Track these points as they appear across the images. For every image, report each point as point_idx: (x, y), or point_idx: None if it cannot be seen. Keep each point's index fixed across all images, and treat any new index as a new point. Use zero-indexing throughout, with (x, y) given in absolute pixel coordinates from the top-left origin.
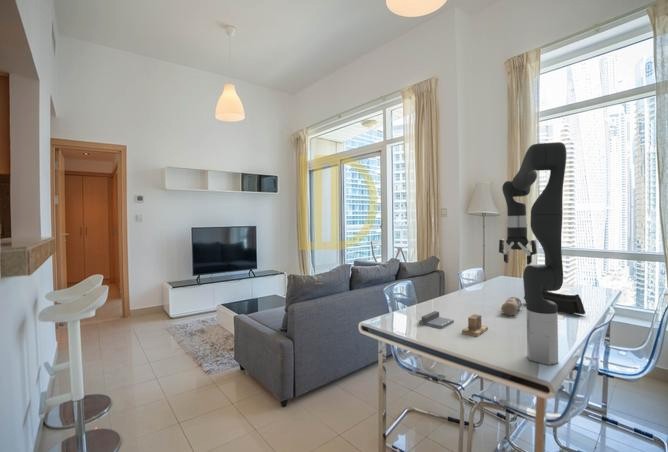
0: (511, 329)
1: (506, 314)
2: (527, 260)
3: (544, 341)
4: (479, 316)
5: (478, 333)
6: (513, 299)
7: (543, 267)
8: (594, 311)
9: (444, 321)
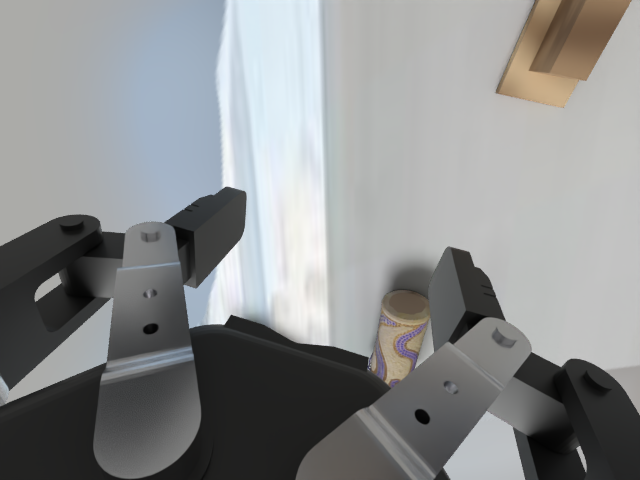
0: (404, 140)
1: (415, 292)
2: (220, 204)
3: None
4: (564, 43)
5: None
6: (391, 364)
7: None
8: None
9: None
